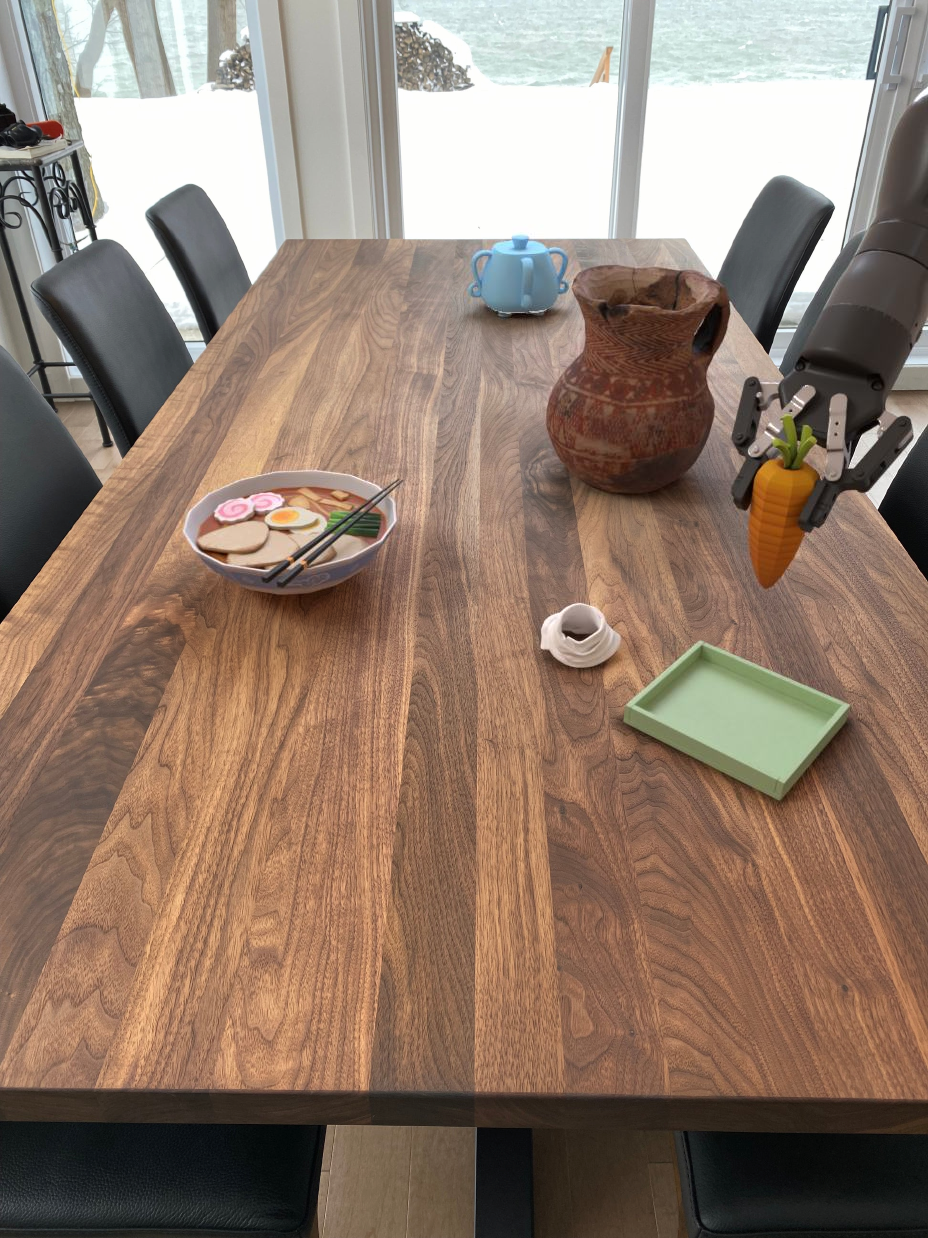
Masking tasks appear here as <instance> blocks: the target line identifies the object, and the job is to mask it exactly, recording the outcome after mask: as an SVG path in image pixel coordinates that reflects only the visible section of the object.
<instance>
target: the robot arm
mask: <svg viewBox="0 0 928 1238" xmlns="http://www.w3.org/2000/svg"><path fill="white" fill-rule="evenodd" d="M878 187H879V188H878V191H877V197H876V203H875V207H874V208H875V210H874V214H873V218H872V220H871V222H870V224H869V226H868V228H867V230H866V232H865V234H864V235H863V237H862V240H861V241H860V243H859V245H858V247H857V249H856V251H855V252H854V255H853V257H852V259H851V261H850V262H849V264H848V266H847V267H846V269H845V270H844V272H843V273H842V275H841V276H840V277H839V279H838V280H837V282H836V284H835V286H834V287H833V289H832V290H831V293H830V295H829V297H828V299H827V301H826V303H825V305H824V307H823V308H822V310H821V312H820V314H819V316H818V318H817V320H816V322H815V324H814V326H813V328H812V330H811V332H810V334H809V336H808V338H807V339H806V341H805V343H804V346H803V348H802V350H801V352H800V354H799V355H798V358H797V359H796V362H795V365H794V367H793V369H792V370H791V371H790V372H789V374H787V375H786V376H784V377H783V378H782V379H781V381H780V382H761V381H760V379H759V378H758V377H757V376H755V375H754V376H748V378H746V379H745V380H744V382H743V388H742V391H741V395H740V400H739V404H738V408H737V412H736V417H735V420H734V425H733V427H732V428H733V429H732V433H731V442H732V443H733V445H734V447H735V449H736V451H737V452H738V454H739V456H742V457H744V458H745V459H744V462H743V464H742V466H741V467H740V469H739V471H738V474H737V476H736V477H735V479H734V481H733V483H732V485H731V486H730V487H731V490H730V494H731V496H732V497H733V499H732V502H733V504H734V505H735V508H737V509H738V510H742V511H743V512H746V511H748V510H749V509H750V507H751V499H752V493H753V486H754V480H755V476H756V474H757V472H758V471H759V469H760V468H761V467H762V466H763V465H764V463H765V462H767V461H769V460H772V459H778V457H779V456H780V455H781V454H780V452H779V450H778V449H777V448H775V447H774V446H773V441H774V439H775V438H779V439H781V440H782V441H784V442H785V443H786V444H787V438H786V434H785V431H784V427H783V422H782V418H781V417H782V416H784V415H785V414H788V415H792V418H793V421H794V425H795V429H796V434H797V442H801V434H802V428H803V425H808V426H809V427H810V428H811V429H812V436H813V437H814V438H816V440H817V442H816V444H815V445H817V446H818V447H820V448H822V449H824V450H826V459H825V469H824V476H823V479H821V478H820V479H818V481H817V483H816V485H815V487H814V489H813V491H812V493H811V495H810V497H809V499H808V501H807V503H806V505H805V507H804V509H803V511H802V513H801V515H800V517H799V519H798V525H799V527H800V529H801V530H802V531H805V532H806V533H808V534H811V533H812V532H813V530H814V528H816V529H820V528H821V527H822V526H823V525H824V524H825V523H826V522H827V519H828V517H829V515H830V513H831V512H832V509H833V508H834V505H835V503H836V501H837V499H838V497H839V495H840V494H842V493H844V492H846V491H856V492H858V493H861V494H865V493H866V494H867V493H868V492H869V491H870V490H871V489H872V488H873V487H874V486H875V484H877V482H878V481H879V480H880V479H881V477H883V476H884V474H885V473H886V472H887V471H888V469H890V468H891V466H892V465H893V464H894V463H895V461H896V460H897V459H898V458H899V457H900V456H901V454H902V453H903V452H904V451H905V449H906V448H907V447H909V445H910V444H911V443H912V441H913V440H914V438H915V436H914V435H915V434H914V428H913V423H912V419H911V418H910V417H909V416H907V415H900V416H897V415H895V414H893V413H891V412H889V411H887V410H886V403H887V399H888V397H889V396H890V394H891V392H892V389H893V388H894V386H895V384H896V382H897V380H898V378H899V376H900V374H901V372H902V371H903V368H904V366H905V364H906V362H907V360H908V358H909V356H910V355H911V353H912V351H913V348H914V347H915V345H916V344H917V343H918V342H919V340H920V338H921V336H922V333H923V332H924V331H923V328H924V326H925V325H926V322H927V321H928V86H926V87H925V88H924V89H923V90H922V91H920V92H919V94H917V95H916V96H915V97H914V98H913V100H911V101H910V103H909V104H908V105H907V106H906V108H905V109H904V111H903V112H902V114H901V116H900V117H899V119H898V120H897V123H896V124H895V127H894V129H893V132H892V134H891V137H890V139H889V142H888V147H887V150H886V154H885V159H884V163H883V168H882V173H881V177H880V183H879V186H878ZM777 399H778V400H779V405H780V409H781V410H780V411H779V412H778V414H776V415H775V416H774V417H773V418H772V419H771V420H770V421H769V422H768V424H767V425H766V427H765V430H764V432H762V434H760V435H759V437H757V433H758V430H759V425H760V422H761V416H762V412H765V411H768V410H769V408H770V407H771V404H772V402H774V401H775V400H777ZM877 426H879V427H878V428H877V431H876V436H877V440H876V441H875V443H874V444H873V445H872V446H871V447H870V448H869V450H868V451H867V452H865V454H864V455H863V456H862V458H861V459H860V460H859V461H858V462H857V464H856V465H855V466H854V467H852V468H851V467H850V468H849V465H850V461H851V459H850V458H851V450H852V441H854V440H856V439H857V438H859V437H861V436H862V435H864V434H866V433H867V432H869V431H871V430H872V429H874V428H876V427H877ZM756 438H757V439H756Z"/></svg>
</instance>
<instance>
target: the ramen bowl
mask: <svg viewBox="0 0 928 1238" xmlns="http://www.w3.org/2000/svg"><path fill="white" fill-rule="evenodd" d="M403 482H404V479H401V480H400V478H396V480H394V481H393V482H391V483H390V484H389V485H387V486H386V487H384V488H381V486H379V485H377V484H375V483H373V482H370V481H367V480H366V479H363V478H360V477H357V476H354V475H352V474H348V473H343V472H342V473H341V472H333V471H325V470H318V469H317V470H316V469H305V470H304V469H303V470H281V471H280V470H279V471H273V472H267V473H263V474H259V475H255V476H250V477H245V478H241V479H237V480H235V481H233V482H231V483H229V484H227V485H224V486H222V487H220V488H217V489H215V490H213V491H210V492H208V493H206V495H204V496H203V497H202V498H201V499H200V500H199V501H198V502H197V503H196V504H195V505H193V506H192V507H191V509H189V510H188V512H187V515H186V516H185V521H184V524H183V527H182V530H181V531H182V534H183V536H184V537H185V539H186V540H187V542H188V543H189V544H190V546H191V547H192V549H193V551H194V552H195V553H196V554H197V556H198V557H199V558H200V560H201V561H202V562H203V563H204V564H205V565H207V566H208V567H209V568H210V569H211V570H212V571H213V572H214V573H216V574H218V575H219V576H221V577H223V578H224V579H226V580H228V581H229V582H231V583H233V584H236V585H238V586H239V587H241V588H243V589H245V590H249V591H253V592H254V591H255V592H261V593H267V594H273V595H279V596H281V595H282V596H283V595H300V594H301V595H303V594H310V593H313V592H317V591H321V590H323V589H324V590H325V589H328V588H331V587H335V586H337V585H339V584H341V583H343V582H345V581H347V580H349V579H350V578H352V577H353V576H355V575H357V574H359V573H360V572H362V571H363V570H364V569H365V568H366V567H368V566H369V565H370V563H371V562H372V561H373V560H374V558H375V556H376V555H377V553H378V552H379V551H380V549H381V548H382V547H383V545H384V544H385V543H386V541H387V540H388V538H389V537H390V535H391V534H392V531H393V529H394V528H395V525H396V524H397V519H398V518H397V509H396V501H395V500H394V499H393V498H392V497H391V496H390V495H389V494H390V493H391V492H393V491H394V490H395V489H396V488H397V487H398V486H399V485H401V484H402V483H403ZM392 486H393V487H392ZM389 488H390V489H389ZM387 490H388V491H387Z"/></svg>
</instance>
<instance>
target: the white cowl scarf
mask: <svg viewBox="0 0 928 1238" xmlns="http://www.w3.org/2000/svg"><path fill="white" fill-rule="evenodd" d="M563 631H569V632H572V633H573V634H574V635H575V634H576V635H589V636H588V637H587V638H585V639H583V640H581V641H578V640H575V639H574V638H572V637H570V636H566V635H565V634H564V633H563ZM540 635H541V640H540V649H541V650H542V651H549V652H550V653H551V655H552V656H553V658H555V660H557V661H559V662H560V663H562V664H564V665H565V666H569V667H572V668H577V669H578V668H590V667H595V666H597V665H600V664H603V662H605V661H607V660H608V659H610V658H612V656H613V655H614V654H615V653H616V652H617V651H618V649H619V648H620V646H621V643H622V637H621V635H620V634H619V633H618V632H617V631H615V630H614V629H613V628H612V627H611V625H609V624H608V623H607V620H606V617H605V616H604V614H603V612H602V611H601V610H600V609H599V608H597V607H596V606H593V605H589V604H587V603H582V602H581V603H580V602H578V603H577V602H576V603H572V604H570V605H568V606H566V607H564V608H563V609H562V610H561V611H560V612H557V613H554V614H551V615H550V616H548V617H546V619H545V620H543V623H542V626H541V628H540Z"/></svg>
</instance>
